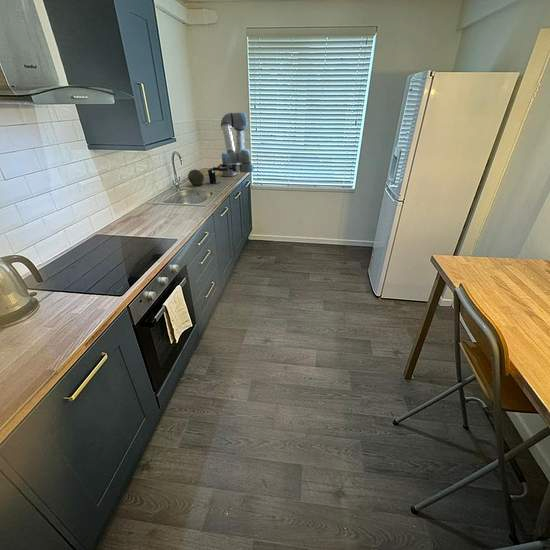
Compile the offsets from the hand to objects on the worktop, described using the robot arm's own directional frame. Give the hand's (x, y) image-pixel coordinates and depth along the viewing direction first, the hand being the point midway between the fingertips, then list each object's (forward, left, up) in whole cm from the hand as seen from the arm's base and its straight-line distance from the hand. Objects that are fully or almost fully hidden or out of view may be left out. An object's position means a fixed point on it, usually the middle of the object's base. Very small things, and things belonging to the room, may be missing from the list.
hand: (216, 167), depth 275 cm
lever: (0, -1, -4) cm, 4 cm away
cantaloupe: (+13, -16, -16) cm, 26 cm away
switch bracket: (+1, -6, -16) cm, 17 cm away
